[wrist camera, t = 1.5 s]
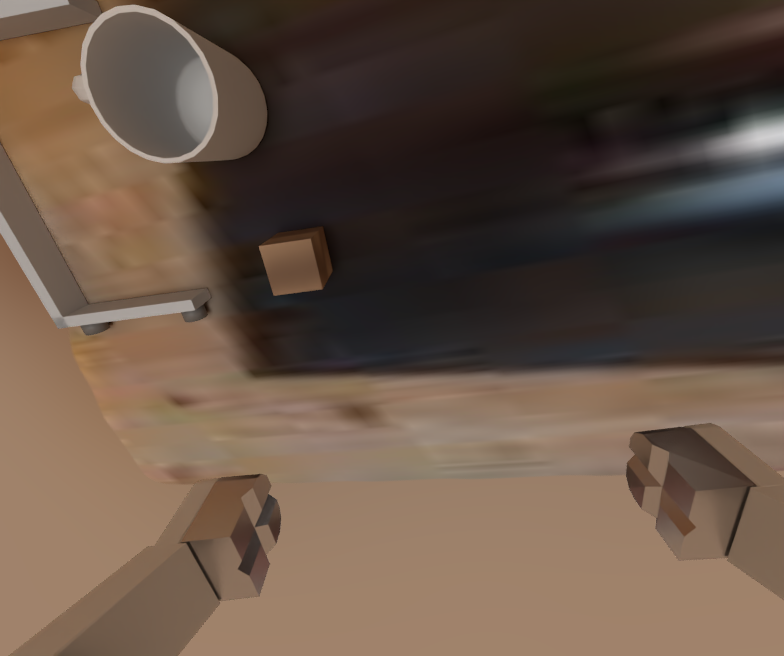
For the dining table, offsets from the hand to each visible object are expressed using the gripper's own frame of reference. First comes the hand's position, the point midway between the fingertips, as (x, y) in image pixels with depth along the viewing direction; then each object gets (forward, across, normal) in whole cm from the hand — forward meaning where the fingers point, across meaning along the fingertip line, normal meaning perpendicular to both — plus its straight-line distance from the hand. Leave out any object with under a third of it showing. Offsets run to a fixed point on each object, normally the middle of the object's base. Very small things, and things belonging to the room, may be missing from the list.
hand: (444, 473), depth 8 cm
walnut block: (+26, +9, -1) cm, 28 cm away
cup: (+26, +14, -13) cm, 32 cm away
